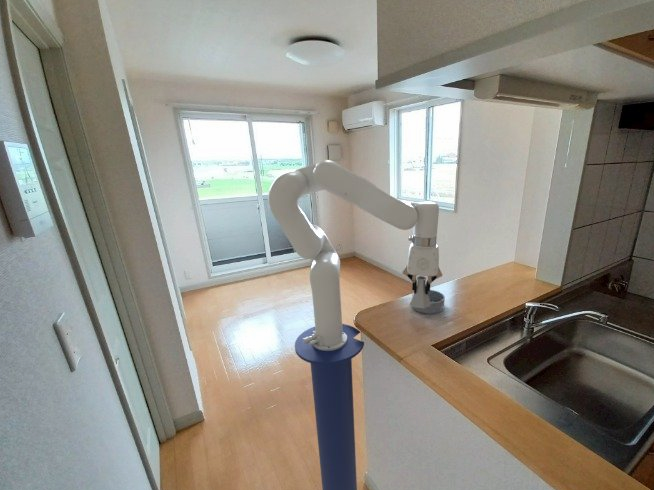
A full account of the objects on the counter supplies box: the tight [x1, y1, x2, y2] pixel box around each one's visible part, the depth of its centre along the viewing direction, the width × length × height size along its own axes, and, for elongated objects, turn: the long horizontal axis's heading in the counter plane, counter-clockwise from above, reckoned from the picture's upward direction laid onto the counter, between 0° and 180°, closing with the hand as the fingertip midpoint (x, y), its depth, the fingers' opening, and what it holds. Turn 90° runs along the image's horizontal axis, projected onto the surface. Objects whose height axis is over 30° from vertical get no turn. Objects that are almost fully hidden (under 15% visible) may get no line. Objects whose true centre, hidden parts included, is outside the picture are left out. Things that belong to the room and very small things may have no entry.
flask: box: [409, 275, 430, 308], centre depth 107 cm, size 7×7×10 cm
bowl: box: [411, 289, 446, 315], centre depth 132 cm, size 13×13×5 cm
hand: (420, 292), depth 107 cm, fingers closed on flask, 3 cm apart
